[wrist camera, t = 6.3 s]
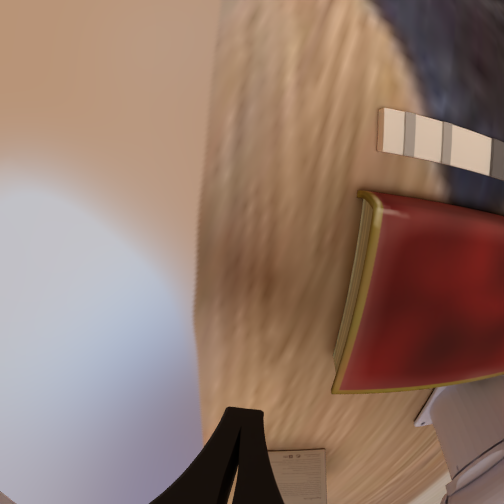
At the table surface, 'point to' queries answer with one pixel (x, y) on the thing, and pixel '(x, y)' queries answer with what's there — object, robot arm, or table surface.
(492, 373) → the hardcover book
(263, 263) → the table surface
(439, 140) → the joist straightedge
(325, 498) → the small box
